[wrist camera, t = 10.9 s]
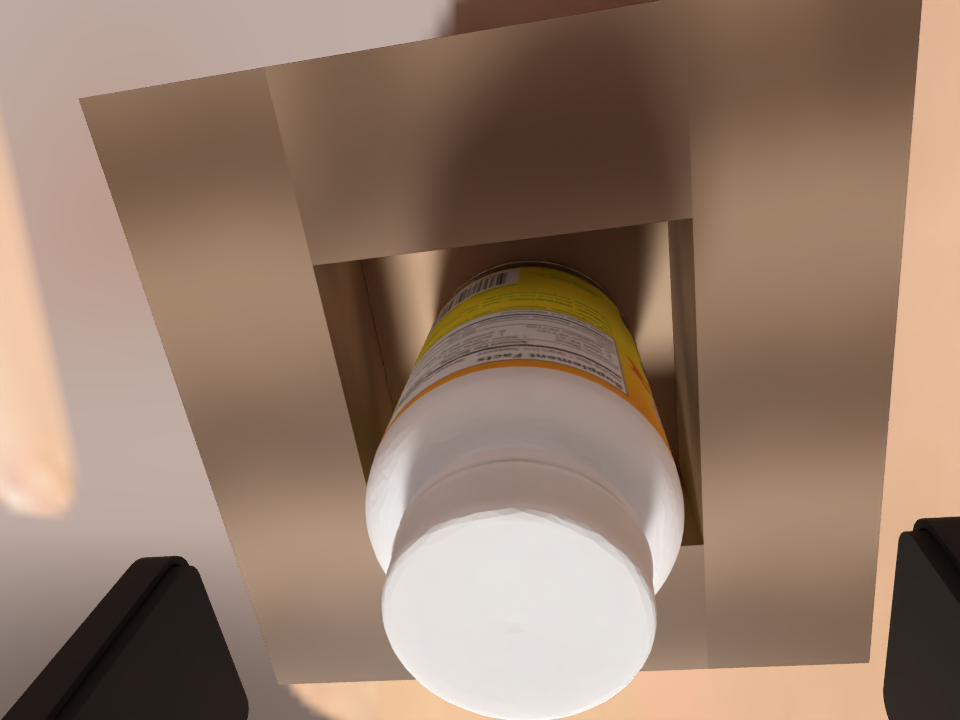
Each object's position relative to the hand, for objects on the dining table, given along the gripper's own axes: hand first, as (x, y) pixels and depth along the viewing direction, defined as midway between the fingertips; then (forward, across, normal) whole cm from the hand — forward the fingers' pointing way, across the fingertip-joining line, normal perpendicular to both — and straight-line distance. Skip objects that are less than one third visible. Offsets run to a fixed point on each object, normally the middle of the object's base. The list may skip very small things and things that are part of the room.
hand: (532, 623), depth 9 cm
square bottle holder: (+10, +1, 0) cm, 11 cm away
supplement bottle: (+11, 0, 0) cm, 11 cm away
